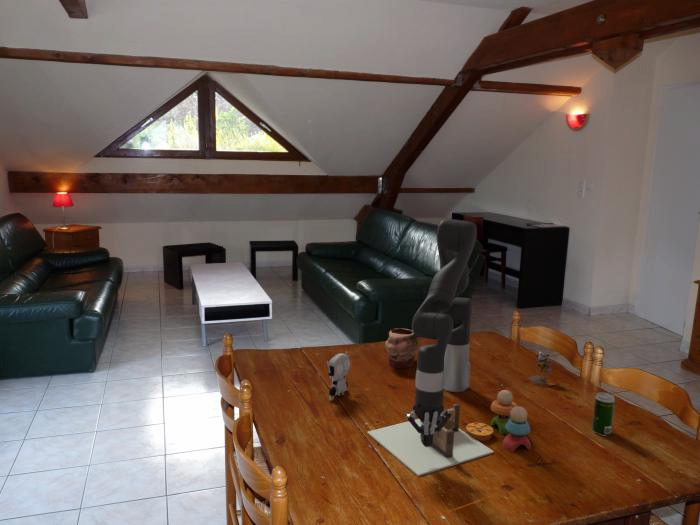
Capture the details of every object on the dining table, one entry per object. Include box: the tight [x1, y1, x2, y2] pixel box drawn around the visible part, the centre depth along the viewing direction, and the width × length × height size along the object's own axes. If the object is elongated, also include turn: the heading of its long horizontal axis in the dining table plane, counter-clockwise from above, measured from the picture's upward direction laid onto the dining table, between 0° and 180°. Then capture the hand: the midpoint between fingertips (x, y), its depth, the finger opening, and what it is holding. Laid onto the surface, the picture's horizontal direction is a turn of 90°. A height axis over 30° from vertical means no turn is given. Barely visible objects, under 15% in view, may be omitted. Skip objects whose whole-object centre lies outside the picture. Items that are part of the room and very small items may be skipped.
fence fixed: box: [420, 403, 461, 439], centre depth 167 cm, size 14×2×8 cm, turn 119°
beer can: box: [591, 392, 616, 436], centre depth 170 cm, size 5×5×12 cm
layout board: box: [366, 418, 494, 477], centre depth 164 cm, size 26×26×1 cm
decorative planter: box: [384, 328, 419, 369], centre depth 225 cm, size 20×12×14 cm, turn 153°
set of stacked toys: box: [465, 389, 532, 453], centre depth 166 cm, size 18×17×12 cm
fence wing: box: [433, 427, 454, 457], centre depth 158 cm, size 11×2×7 cm, turn 29°
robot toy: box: [326, 350, 351, 401], centre depth 193 cm, size 12×4×15 cm, turn 149°
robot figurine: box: [527, 351, 553, 387], centre depth 208 cm, size 11×9×12 cm
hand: (426, 445), depth 152 cm, fingers closed
